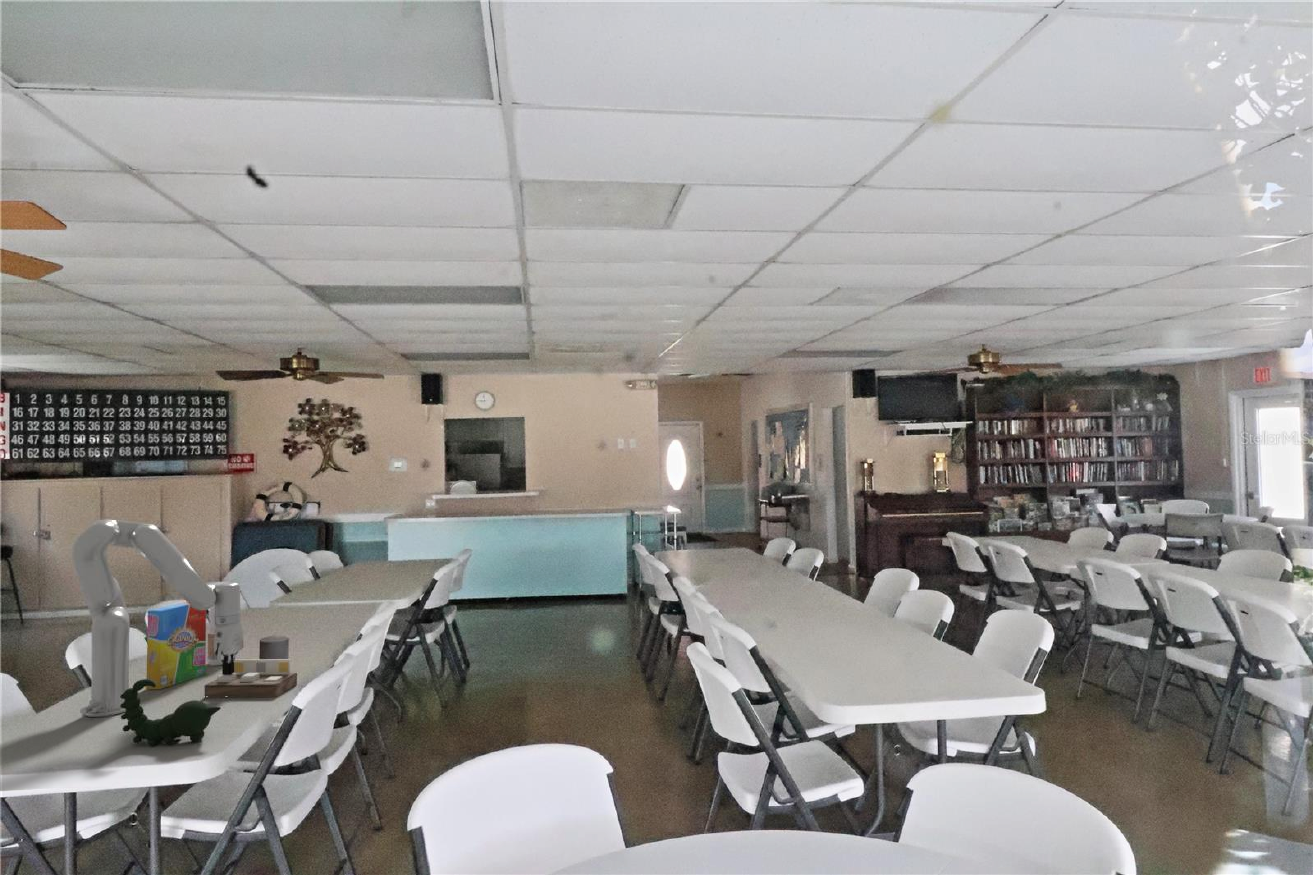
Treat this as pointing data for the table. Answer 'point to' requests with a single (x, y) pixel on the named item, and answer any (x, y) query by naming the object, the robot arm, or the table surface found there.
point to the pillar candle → (274, 647)
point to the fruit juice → (212, 639)
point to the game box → (175, 644)
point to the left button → (227, 678)
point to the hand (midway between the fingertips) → (228, 673)
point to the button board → (251, 686)
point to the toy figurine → (180, 723)
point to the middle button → (250, 677)
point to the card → (262, 666)
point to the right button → (273, 678)
